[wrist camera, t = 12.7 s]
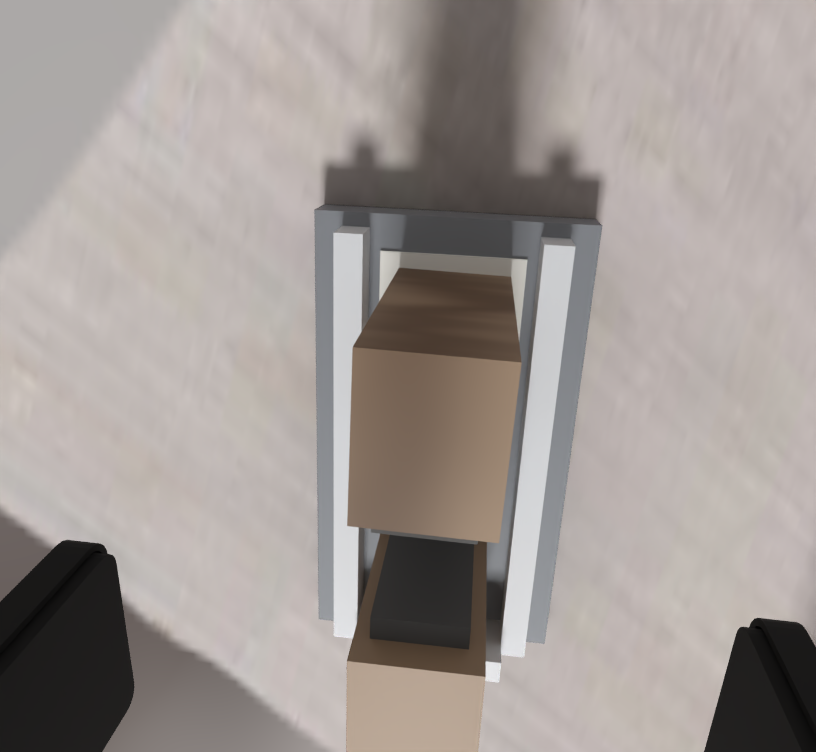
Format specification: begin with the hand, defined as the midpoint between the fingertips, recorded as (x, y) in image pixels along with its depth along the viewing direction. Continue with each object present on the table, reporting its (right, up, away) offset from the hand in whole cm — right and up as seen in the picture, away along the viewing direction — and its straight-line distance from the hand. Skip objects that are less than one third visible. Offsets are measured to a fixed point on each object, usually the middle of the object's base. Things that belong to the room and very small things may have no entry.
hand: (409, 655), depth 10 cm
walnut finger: (+1, +6, +15) cm, 16 cm away
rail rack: (+1, +2, +18) cm, 18 cm away
